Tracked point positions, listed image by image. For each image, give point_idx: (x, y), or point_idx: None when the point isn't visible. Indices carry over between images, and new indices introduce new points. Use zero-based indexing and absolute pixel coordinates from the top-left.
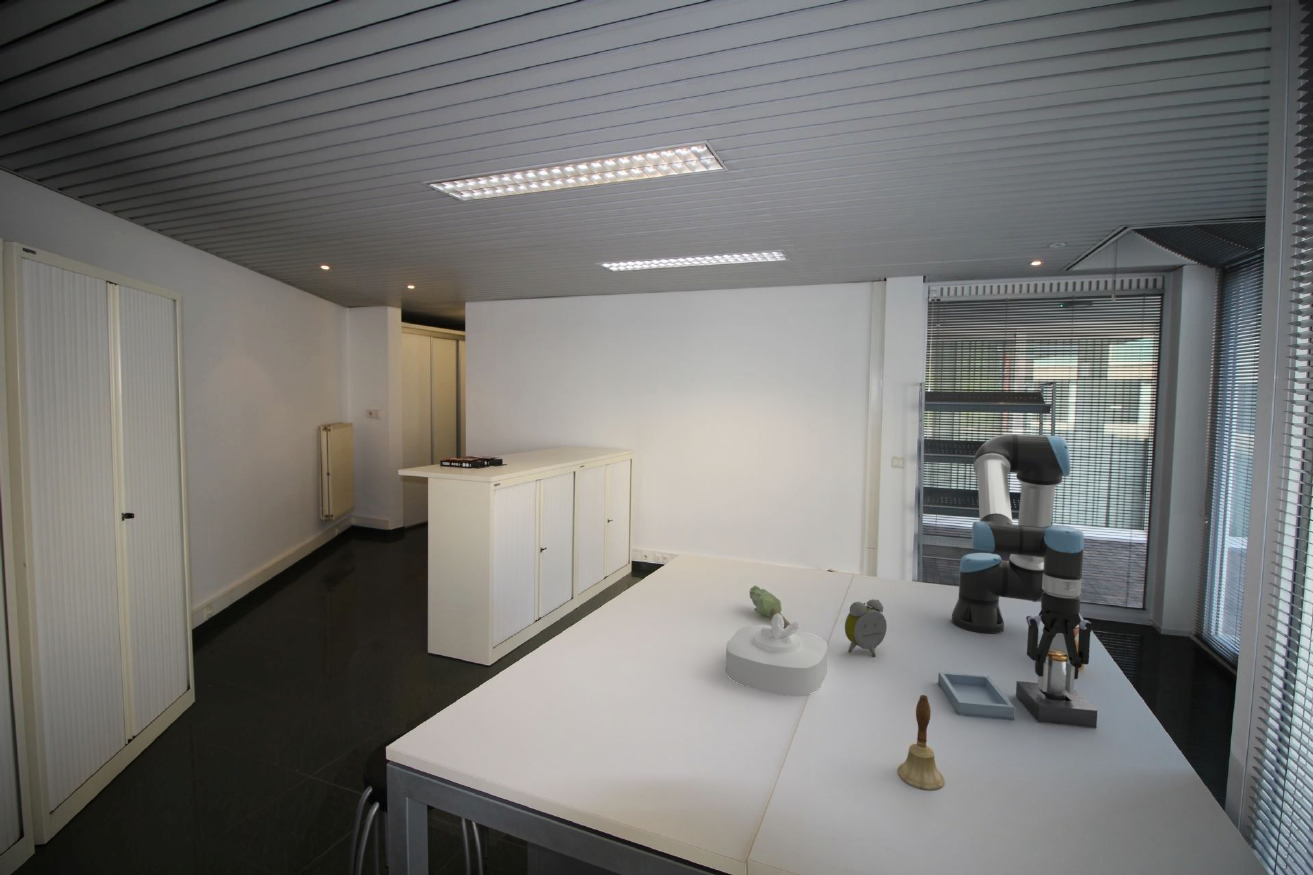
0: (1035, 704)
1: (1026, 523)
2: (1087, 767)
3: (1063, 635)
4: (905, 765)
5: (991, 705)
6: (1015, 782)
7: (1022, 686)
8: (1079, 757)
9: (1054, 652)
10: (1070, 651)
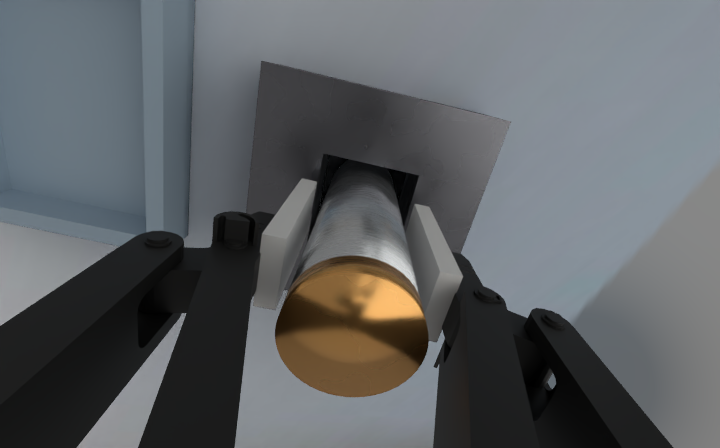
0: None
1: None
2: (261, 416)
3: None
4: None
5: (80, 236)
6: (81, 442)
7: (260, 123)
8: (268, 389)
9: (345, 316)
10: (443, 408)
